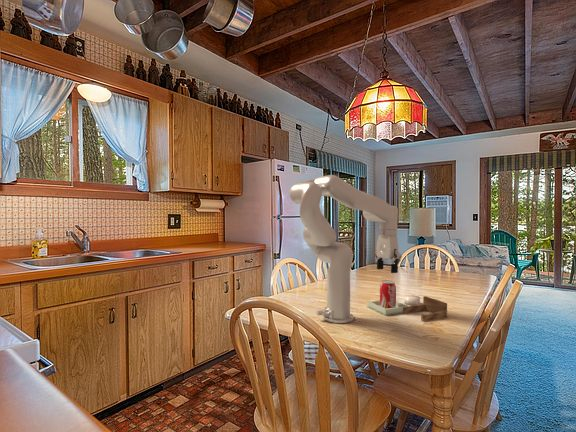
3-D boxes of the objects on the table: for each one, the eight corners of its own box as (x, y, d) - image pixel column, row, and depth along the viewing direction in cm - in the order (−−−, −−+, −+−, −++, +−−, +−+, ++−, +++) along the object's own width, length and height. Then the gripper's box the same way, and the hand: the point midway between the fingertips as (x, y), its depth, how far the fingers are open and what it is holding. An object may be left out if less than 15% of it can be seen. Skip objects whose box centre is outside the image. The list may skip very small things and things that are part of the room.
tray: (385, 315, 141) (385, 309, 141) (367, 307, 153) (367, 301, 153) (409, 312, 146) (409, 306, 146) (389, 304, 158) (389, 298, 158)
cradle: (422, 321, 134) (423, 306, 134) (402, 312, 145) (402, 299, 145) (447, 317, 139) (447, 303, 139) (425, 309, 150) (425, 296, 150)
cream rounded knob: (411, 307, 154) (412, 299, 154) (401, 303, 160) (401, 295, 160) (423, 305, 157) (423, 298, 157) (412, 301, 163) (412, 294, 163)
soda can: (385, 311, 145) (385, 283, 144) (376, 306, 151) (376, 280, 151) (399, 309, 147) (399, 282, 146) (389, 305, 154) (390, 279, 153)
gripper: (369, 231, 155) (368, 268, 155) (394, 234, 139) (393, 274, 139) (382, 231, 158) (381, 267, 158) (408, 234, 142) (407, 274, 142)
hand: (386, 270), depth 149 cm, fingers open, 9 cm apart
